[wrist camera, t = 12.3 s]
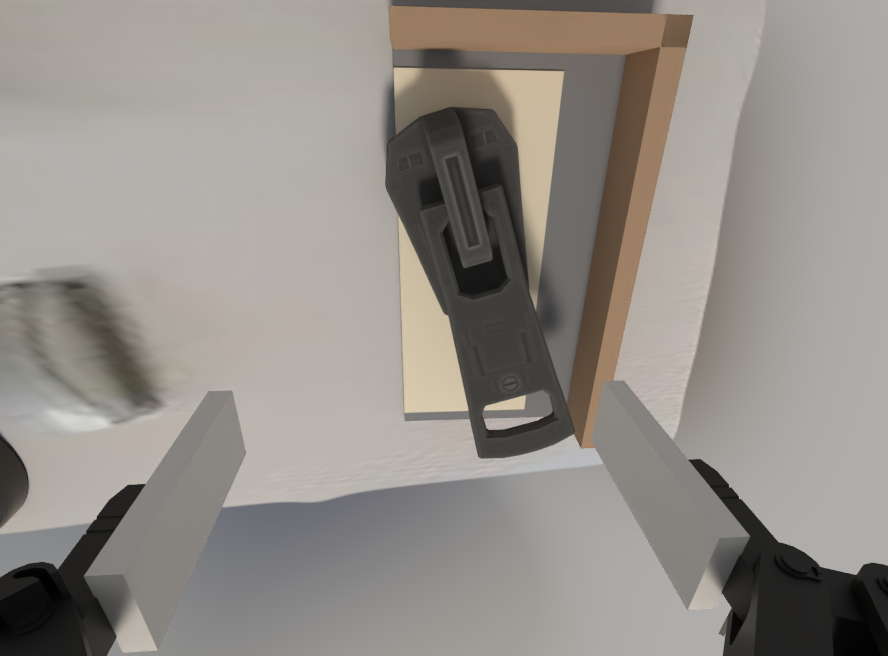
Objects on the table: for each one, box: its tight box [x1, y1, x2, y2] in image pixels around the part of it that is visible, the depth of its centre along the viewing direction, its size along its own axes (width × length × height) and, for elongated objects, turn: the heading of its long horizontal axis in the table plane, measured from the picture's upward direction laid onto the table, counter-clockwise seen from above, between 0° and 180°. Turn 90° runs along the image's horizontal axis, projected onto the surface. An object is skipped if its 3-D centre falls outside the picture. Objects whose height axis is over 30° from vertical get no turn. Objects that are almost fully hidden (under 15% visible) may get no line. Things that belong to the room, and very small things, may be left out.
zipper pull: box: [385, 107, 575, 459], centre depth 32 cm, size 9×7×25 cm
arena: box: [389, 6, 694, 448], centre depth 33 cm, size 16×30×5 cm, turn 179°
